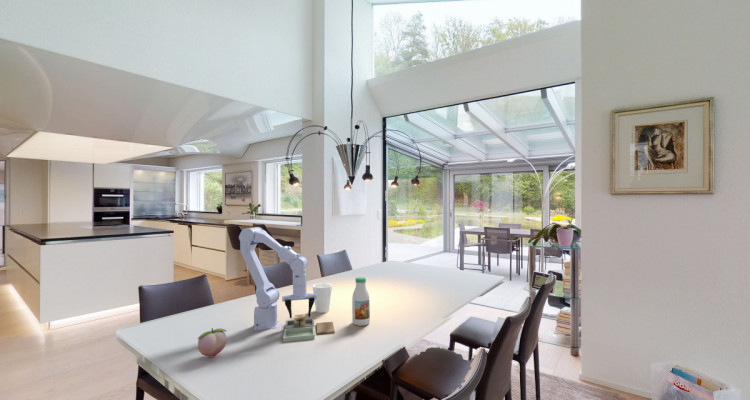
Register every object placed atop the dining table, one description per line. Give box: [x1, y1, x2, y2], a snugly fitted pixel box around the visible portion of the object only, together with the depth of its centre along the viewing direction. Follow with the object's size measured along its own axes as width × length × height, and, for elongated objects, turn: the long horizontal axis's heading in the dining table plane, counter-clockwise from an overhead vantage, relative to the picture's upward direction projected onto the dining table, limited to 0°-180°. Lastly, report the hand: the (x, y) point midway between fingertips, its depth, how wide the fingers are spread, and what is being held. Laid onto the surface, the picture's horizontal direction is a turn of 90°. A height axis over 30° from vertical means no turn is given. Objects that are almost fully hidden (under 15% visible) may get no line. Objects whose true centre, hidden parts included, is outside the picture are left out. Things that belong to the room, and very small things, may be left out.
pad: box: [316, 321, 336, 336], centre depth 134 cm, size 7×11×1 cm, turn 12°
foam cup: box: [312, 282, 333, 314], centre depth 157 cm, size 10×9×13 cm
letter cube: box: [293, 313, 306, 327], centre depth 137 cm, size 4×5×4 cm
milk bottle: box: [351, 276, 371, 327], centre depth 141 cm, size 8×8×20 cm
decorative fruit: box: [197, 327, 228, 358], centre depth 111 cm, size 9×8×10 cm
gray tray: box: [284, 317, 315, 330], centre depth 137 cm, size 12×9×2 cm
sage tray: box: [282, 326, 316, 343], centre depth 127 cm, size 12×9×2 cm
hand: (300, 316), depth 137 cm, fingers open, 7 cm apart
